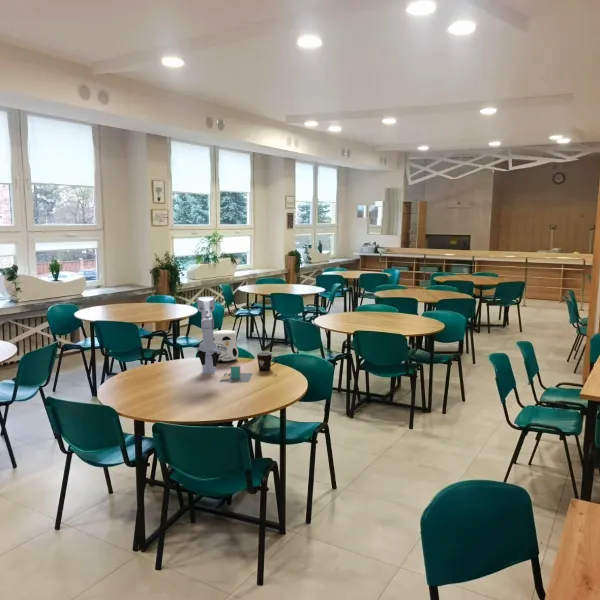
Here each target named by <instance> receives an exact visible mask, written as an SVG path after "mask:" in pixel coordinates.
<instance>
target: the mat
mask: <svg viewBox="0 0 600 600" xmlns="http://www.w3.org/2000/svg"><path fill="white" fill-rule="evenodd" d="M227 373H228V372H225V373H224V374H223V376H222V377H225V376H226V374H227ZM240 373H241V378H240V379H231V372H230V375H229V376H230V379H229V380H228V381H221V379H220V380H219V383H249V382H250V380H251V379H252V376H253V372H240Z"/></svg>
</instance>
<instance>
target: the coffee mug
mask: <svg viewBox="0 0 600 600" xmlns="http://www.w3.org/2000/svg"><path fill="white" fill-rule="evenodd" d="M256 357H257V358H256V359H257V363H258V364H257V365H258V371H259V372H269V371H271V367H272V366H273V365H275V364H276V363H277V361H278V358H277V357H276V356H272V352H270V351H259V352H258V353H256ZM273 358H274V359H275V362H274V363H272V360H273Z"/></svg>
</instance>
